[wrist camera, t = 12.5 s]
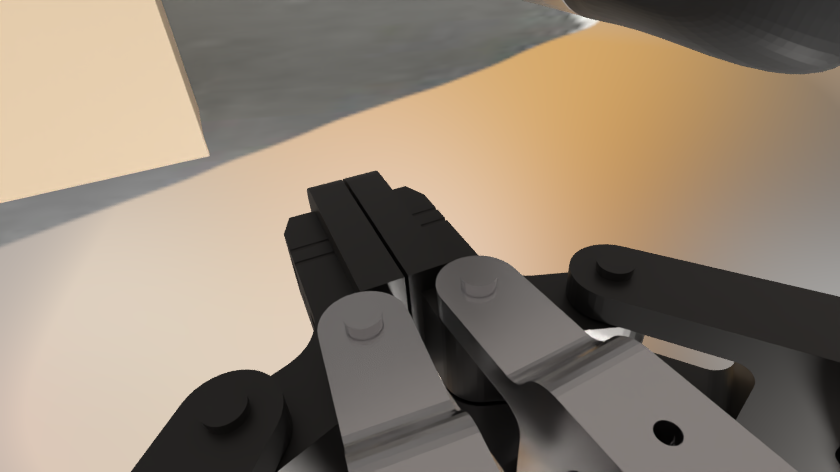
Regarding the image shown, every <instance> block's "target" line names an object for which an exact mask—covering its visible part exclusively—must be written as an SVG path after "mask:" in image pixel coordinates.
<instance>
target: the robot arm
mask: <svg viewBox="0 0 840 472" xmlns="http://www.w3.org/2000/svg"><path fill="white" fill-rule="evenodd" d="M523 1H526V2H530V3H534V4H538V5H541V6H545V7H549V8H553V9H557V10H561V11H565V12H569V13H572V14H576V15H580V16H583V17H586V18H590V19H594V20H599V21H603V22H608V23H612V24H617V25H621V26H624V27H628V28H632V29H636V30H639V31H642V32H645V33H648V34H651V35H654V36H657V37H660V38H662V39H665V40H668V41H671V42H673V43H676V44H679V45H682V46H684V47H687V48H690V49H692V50H695V51H698V52H701V53H703V54H706V55H709V56H712V57H715V58H718V59H722V60H725V61H728V62H731V63H734V64H738V65H741V66H746V67H751V68H755V69H759V70H764V71H768V72H776V73H785V74H809V73H817V72H823V71H827V70H830V69H833V68H836V67H837V66H840V0H523ZM307 193H308V199H309V203H310V208H311V212H310V213H306V214H303V215H299V216H295V217H291V218H289V221H288V224H287V227H286V230H285V233H284V236H285V239H286V243H287V247H288V251H289V254H290V257H291V261H292V265H293V268H294V271H295V275H296V279H297V282H298V286H299V290H300V293H301V295H302V298H303V301H304V304H305V307H306V310H307V313H308V316H309V318H310V321H311V324H312V327H313V330H314V332H313V335H312V338H311V340H310V342H309V344H308V345H307V347H306V348H305V349H304V350H303V352H302V353H301V354H300V355H299V356H298V357H297V358H296V359H295V360H293V361H292V362H291V363H289V364H288V365H287V366H285V367H284V368H282V369H281V370H279V371H278V372H276V373H275V374H273V375H272V376H269V375H267V374H265V373H263V372H260V371H256V370H236V371H231V372H227V373H224V374H221V375H219V376H217V377H214V378H212V379H210V380H209V381H207V382H205V383H203V384H202V385H201V386H199V387H198V388H197V389H195V390H194V391H193V392H192V393H191V394H190V395H189V396H188V397H187V398H186V399H185V400H184V401H183V403H182V404H181V405H180V406H179V408H178V409H177V410H176V412H175V413H174V415H173V416H172V417H171V419H170V420H169V421H168V423H167V424H166V425H165V427H164V428H163V429H162V431H161V432H160V433H159V435H158V436H157V437H156V439H155V440H154V441H153V443H152V444H151V446H150V447H149V448H148V450H147V451H146V452H145V453H144V455H143V456H142V458H141V459H140V460H139V462H138V463H137V464H136V466H135V467H134V468H133V470H132V471H131V472H840V297H838V296H834V295H829V294H825V293H821V292H817V291H812V290H808V289H804V288H799V287H795V286H791V285H786V284H782V283H778V282H774V281H769V280H765V279H760V278H756V277H752V276H747V275H743V274H739V273H734V272H730V271H726V270H722V269H717V268H712V267H709V266H704V265H700V264H696V263H691V262H687V261H683V260H678V259H674V258H670V257H665V256H661V255H657V254H652V253H648V252H644V251H640V250H635V249H630V248H627V247H622V246H617V245H608V244H605V245H593V246H589V247H586V248H583V249H581V250H579V251H578V252H576V253H575V254H574V255H573V257H572V258H571V261H570V264H569V271H568V273H557V274H546V275H535V276H522V275H521V274H520V273H519V272H518V271H517V270H516V269H515V268H513V267H512V266H511V265H509V264H508V263H506V262H504V261H502V260H499V259H497V258H493V257H488V256H478V255H477V254H476V252H475V251H474V250H473V249H472V248H471V247H470V246H469V244H468V243H467V242H466V241H465V240H464V239H463V238H462V237H461V235H459V233H458V232H457V231H456V230H455V229H454V228H453V227H452V226H451V224H450V223H449V222H448V221H447V220H446V221H445V217H443V215H442V214H441V213H440V212H439V211H438V210H436V208H435V206H434V205H433V204H432V203H431V202H430V201H429V200H428V198H427V197H426V196H425V195H424V194H421V193H419V192H417V191H415V190H413V189H411V188H408V187H406V186H405V187H401V188H397V189H394V190H392V189H391V187H390V186H389V185H388V184H387V182H386V181H385V180H384V179H383V177H382V176H381V175H380V174H379V172H378V171H373V172H369V173H365V174H361V175H357V176H353V177H349V178H346V179H343V181H342V180H338V181H334V182H331V183H327V184H323V185H319V186H315V187H311V188H308V189H307ZM644 335H647V336H650V337H654V338H657V339H660V340H664V341H667V342H670V343H674V344H677V345H681V346H684V347H687V348H690V349H694V350H697V351H700V352H704V353H707V354H711V355H714V356H717V357H721V358H724V359H728V360H731V361H734V364H733V365H732V366H731V367H729V368H727V369H724V370H708V369H704V368H701V367H698V366H695V365H691V364H688V363H685V362H682V361H679V360H675V359H672V358H668V357H666V356H662V355H659V354H656V353H653V352H651V351H650V350H649V349H648V348H647V347H645V346H644V345H643V344H642V342H643V339H644ZM438 374H439V375H438ZM439 376H440V377H441V379H440V377H439Z"/></svg>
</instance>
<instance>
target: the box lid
mask: <svg viewBox="0 0 840 472" xmlns="http://www.w3.org/2000/svg"><path fill="white" fill-rule="evenodd" d="M207 156H210V155H209V151H208V148H207V145H206V142H205V139H204V136H203V133H202V131H201V128H200V125H199V122H198V119H197V116H196V113H195V111H194V108H193V105H192V102H191V99H190V96H189V94H188V91H187V88H186V85H185V82H184V79H183V76H182V74H181V71H180V68H179V65H178V62H177V59H176V56H175V54H174V51H173V48H172V45H171V42H170V39H169V37H168V34H167V31H166V28H165V25H164V22H163V19H162V17H161V14H160V11H159V8H158V5H157V2H156V0H0V203H3V202H7V201H12V200H16V199H20V198H25V197H29V196H34V195H38V194H43V193H47V192H51V191H56V190H60V189H65V188H69V187H74V186H78V185H83V184H87V183H91V182H96V181H100V180H105V179H109V178H114V177H118V176H122V175H127V174H131V173H136V172H140V171H145V170H149V169H154V168H158V167H162V166H167V165H171V164H176V163H180V162H185V161H189V160H193V159H198V158H202V157H207Z"/></svg>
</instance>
